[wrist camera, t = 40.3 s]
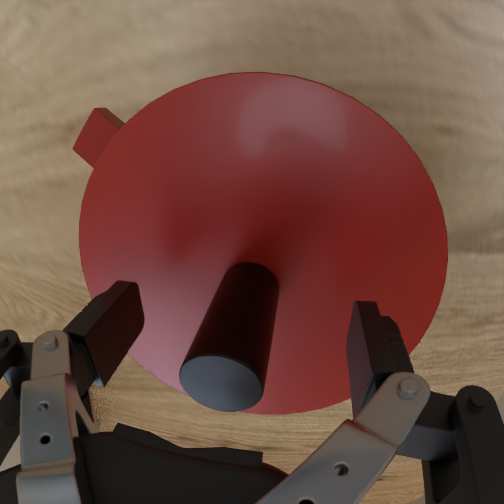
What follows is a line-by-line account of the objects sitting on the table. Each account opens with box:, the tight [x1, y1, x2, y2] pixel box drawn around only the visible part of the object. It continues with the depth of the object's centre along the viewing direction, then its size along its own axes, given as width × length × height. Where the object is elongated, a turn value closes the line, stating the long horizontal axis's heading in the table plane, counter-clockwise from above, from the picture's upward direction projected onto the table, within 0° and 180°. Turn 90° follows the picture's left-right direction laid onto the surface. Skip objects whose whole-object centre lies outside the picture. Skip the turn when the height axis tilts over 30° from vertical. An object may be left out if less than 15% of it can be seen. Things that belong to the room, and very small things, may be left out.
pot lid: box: [79, 72, 448, 414], centre depth 11 cm, size 17×17×7 cm
